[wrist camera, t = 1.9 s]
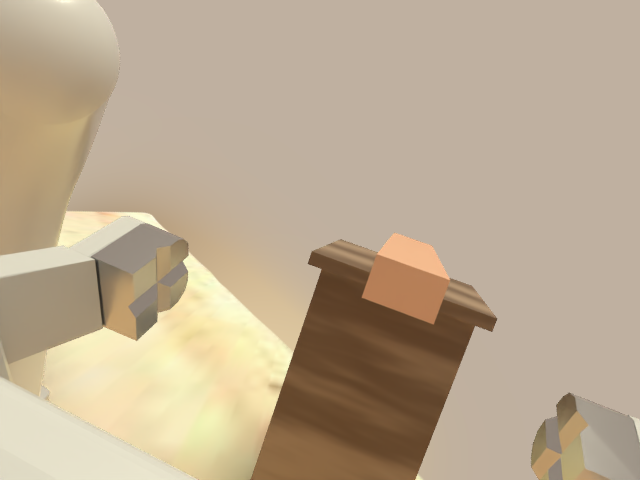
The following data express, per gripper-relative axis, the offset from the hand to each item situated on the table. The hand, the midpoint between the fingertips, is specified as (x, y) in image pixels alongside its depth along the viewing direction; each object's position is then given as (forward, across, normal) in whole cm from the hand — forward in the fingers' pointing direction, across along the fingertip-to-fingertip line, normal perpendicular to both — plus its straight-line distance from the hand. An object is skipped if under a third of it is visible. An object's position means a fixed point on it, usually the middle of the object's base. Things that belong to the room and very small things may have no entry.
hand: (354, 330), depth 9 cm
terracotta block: (+23, 0, -14) cm, 27 cm away
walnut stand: (+15, 0, -39) cm, 42 cm away
